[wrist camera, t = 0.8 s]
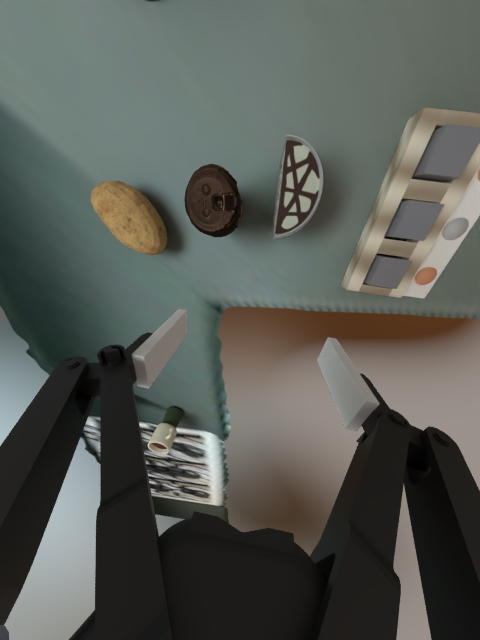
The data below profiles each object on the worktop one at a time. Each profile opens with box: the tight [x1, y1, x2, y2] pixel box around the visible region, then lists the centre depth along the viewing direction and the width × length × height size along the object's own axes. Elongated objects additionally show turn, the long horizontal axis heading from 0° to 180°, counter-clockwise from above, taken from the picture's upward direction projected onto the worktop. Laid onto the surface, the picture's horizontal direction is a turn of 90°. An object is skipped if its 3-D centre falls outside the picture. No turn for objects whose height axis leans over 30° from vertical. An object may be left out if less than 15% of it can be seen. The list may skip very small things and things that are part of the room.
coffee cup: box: [185, 164, 242, 237], centre depth 29 cm, size 9×8×13 cm
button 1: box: [363, 255, 412, 289], centre depth 34 cm, size 5×5×3 cm
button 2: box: [411, 124, 480, 182], centre depth 26 cm, size 5×5×3 cm
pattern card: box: [403, 166, 480, 299], centre depth 32 cm, size 26×5×1 cm, turn 173°
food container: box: [272, 134, 324, 239], centre depth 28 cm, size 12×6×10 cm, turn 177°
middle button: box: [385, 200, 445, 241], centre depth 30 cm, size 5×5×3 cm
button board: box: [341, 108, 480, 298], centre depth 31 cm, size 26×11×3 cm, turn 173°
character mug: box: [148, 407, 183, 454], centre depth 61 cm, size 11×7×13 cm, turn 135°
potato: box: [91, 181, 167, 255], centre depth 34 cm, size 10×14×8 cm
